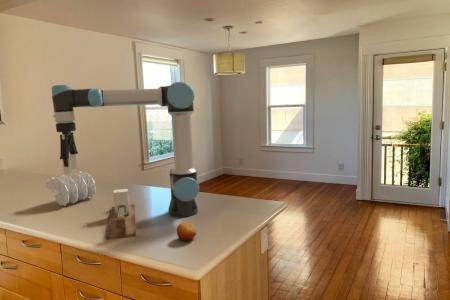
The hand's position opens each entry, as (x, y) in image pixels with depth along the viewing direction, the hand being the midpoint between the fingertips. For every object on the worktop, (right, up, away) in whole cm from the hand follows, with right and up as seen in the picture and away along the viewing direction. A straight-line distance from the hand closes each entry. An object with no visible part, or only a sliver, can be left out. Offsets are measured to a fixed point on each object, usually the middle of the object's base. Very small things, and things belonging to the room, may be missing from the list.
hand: (71, 171), depth 147 cm
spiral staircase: (-23, -22, +55) cm, 63 cm away
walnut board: (+17, -25, +18) cm, 35 cm away
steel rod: (+17, -22, +17) cm, 32 cm away
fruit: (+51, -27, -8) cm, 58 cm away
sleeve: (+15, -22, +24) cm, 36 cm away
